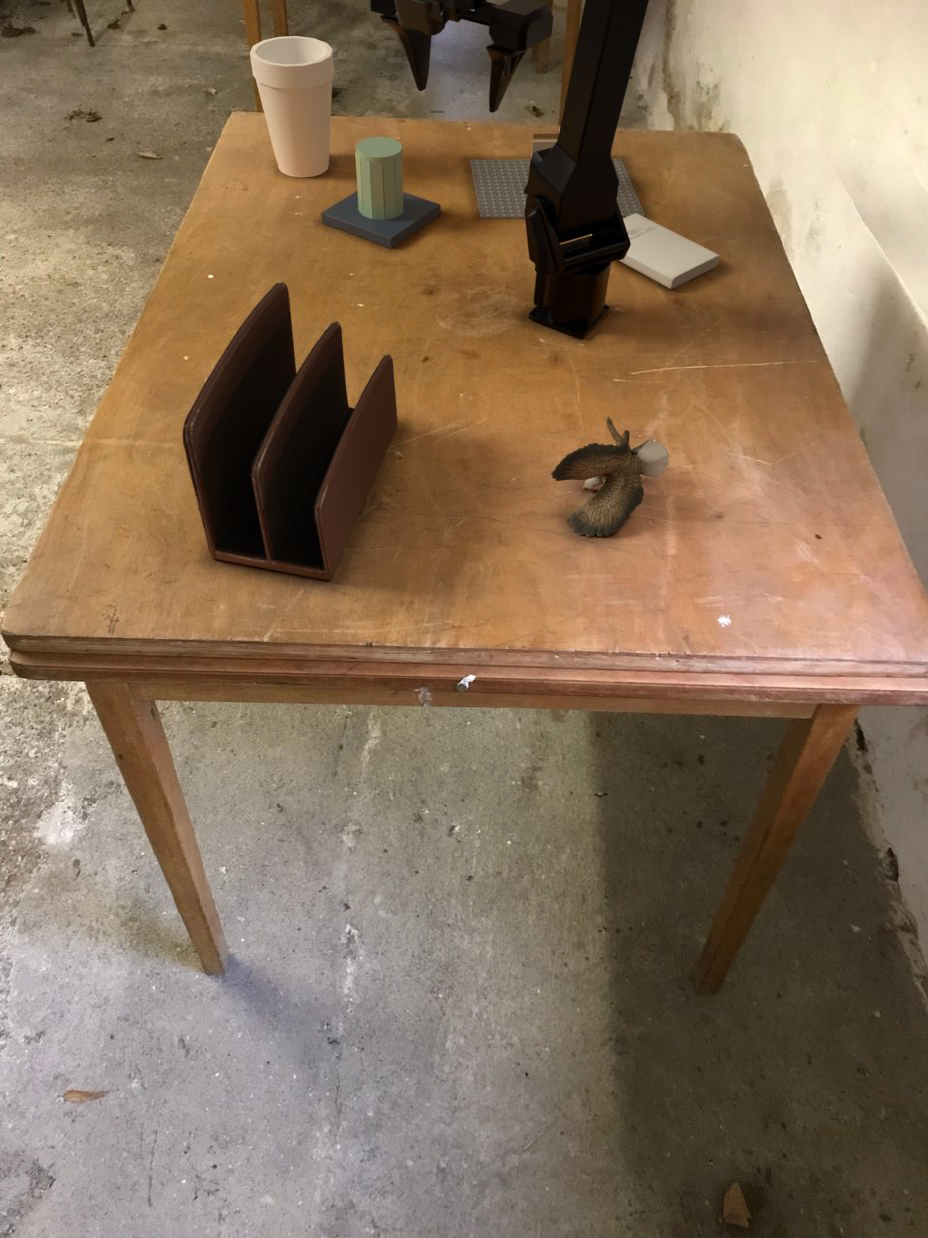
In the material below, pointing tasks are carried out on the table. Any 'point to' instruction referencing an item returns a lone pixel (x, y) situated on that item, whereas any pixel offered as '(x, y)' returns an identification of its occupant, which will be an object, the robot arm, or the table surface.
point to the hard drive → (665, 253)
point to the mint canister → (380, 178)
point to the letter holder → (285, 445)
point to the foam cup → (296, 100)
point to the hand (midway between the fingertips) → (457, 100)
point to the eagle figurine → (610, 480)
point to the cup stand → (381, 230)
